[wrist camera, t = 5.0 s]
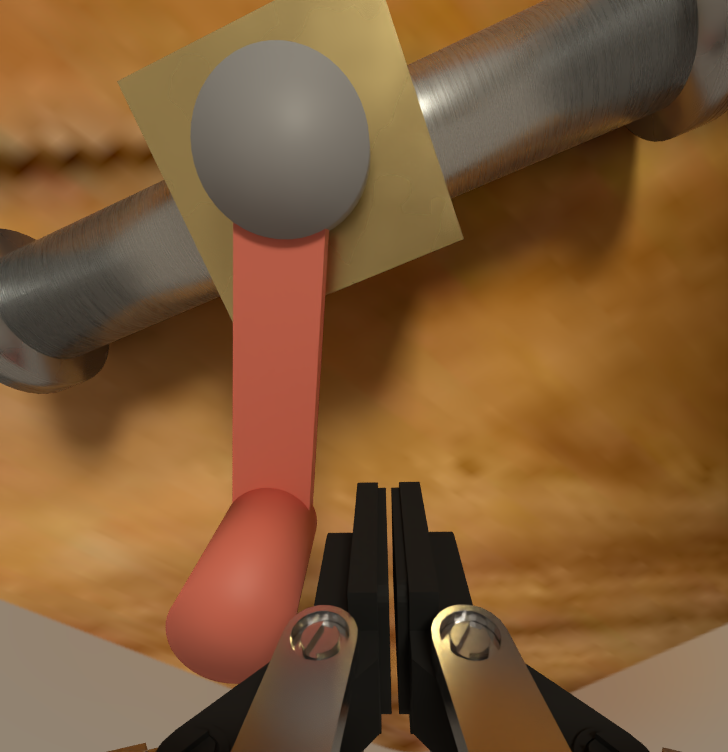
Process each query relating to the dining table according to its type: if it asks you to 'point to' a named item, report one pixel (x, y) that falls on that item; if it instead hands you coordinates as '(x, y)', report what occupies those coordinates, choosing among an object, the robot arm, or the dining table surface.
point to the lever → (269, 334)
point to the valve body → (387, 155)
